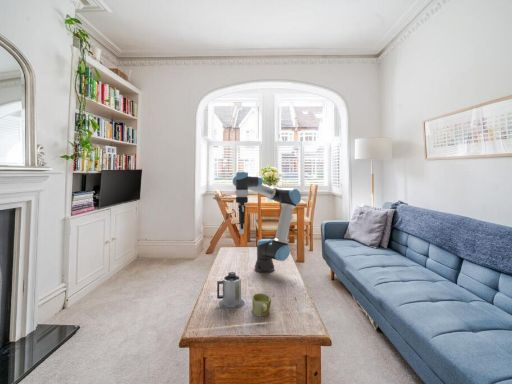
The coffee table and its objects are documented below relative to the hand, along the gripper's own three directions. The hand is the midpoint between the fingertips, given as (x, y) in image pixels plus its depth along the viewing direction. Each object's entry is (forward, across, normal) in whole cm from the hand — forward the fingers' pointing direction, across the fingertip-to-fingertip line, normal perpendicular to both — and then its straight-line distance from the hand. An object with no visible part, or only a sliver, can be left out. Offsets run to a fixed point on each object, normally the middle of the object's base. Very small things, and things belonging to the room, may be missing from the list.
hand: (241, 233), depth 158 cm
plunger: (+31, +21, -8) cm, 38 cm away
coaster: (+34, +21, -8) cm, 41 cm away
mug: (+35, +34, +6) cm, 49 cm away
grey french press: (+34, +21, -9) cm, 41 cm away
